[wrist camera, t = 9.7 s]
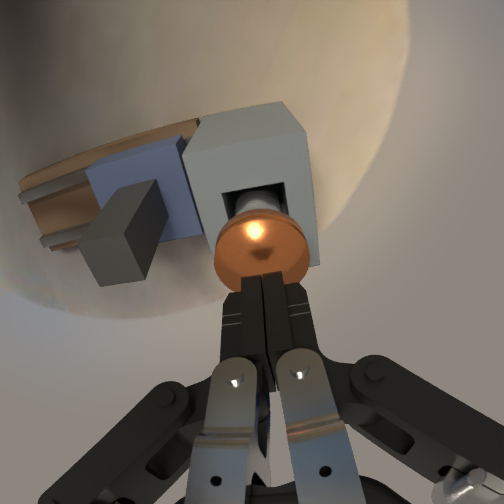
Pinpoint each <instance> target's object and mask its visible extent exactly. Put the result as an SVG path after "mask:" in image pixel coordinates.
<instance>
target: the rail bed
mask: <svg viewBox="0 0 504 504" xmlns="http://www.w3.org/2000/svg"><path fill="white" fill-rule="evenodd" d="M199 125H200V122H199V118H195V119H191V120H187V121H183V122H179V123H175V124H171V125H167V126H164V127H160V128H157V129H153V130H150V131H146V132H143V133H140V134H136V135H133V136H130V137H127V138H124V139H120V140H117V141H114V142H111V143H108V144H106V145H103V146H100V147H97V148H94V149H91V150H89V151H86V152H83V153H81V154H78V155H75V156H73V157H70V158H68V159H65V160H63V161H60V162H58V163H55V164H53V165H50V166H48V167H46V168H43V169H41V170H39V171H37V172H34V173H32V174H30V175H28V176H26V177H25V178H23V179H22V180H21V181H20V182H18V183H19V185H20V188H21V190H22V192H21V193H20V194H19V195H18V197H19V199H20V201H21V203H22V204H25V203H28V205H29V208H30V210H31V212H32V214H33V216H34V218H35V220H36V222H37V224H38V226H39V228H40V230H41V232H42V234H43V236H42V237H41V238H40V241H41V243H42V245H43V247H44V248H45V247H50V249H51V251H55V250H59V249H63V248H67V247H71V246H75V245H77V243H78V242H79V240H80V239H81V237H82V236H83V235H84V233H85V232H86V230H87V229H88V227H89V226H90V225H91V223H92V222H93V220H94V219H95V218H96V216H97V215H98V214H99V212H100V211H101V208H100V206H99V204H98V201H97V199H96V197H95V194H94V192H93V189H92V187H91V184H90V182H89V179H88V177H87V174H86V172H85V170H86V169H88V168H89V167H90V166H91V165H92V164H93V163H94V162H95V161H97V160H98V159H100V158H103V157H106V156H109V155H112V154H115V153H118V152H122V151H125V150H128V149H131V148H135V147H138V146H141V145H145V144H148V143H152V142H155V141H159V140H163V139H166V138H170V137H174V136H178V135H182V136H183V140H184V143H185V147H187V145H188V144H189V142H190V140H191V138H192V137H193V135H194V133H195V131H196V130H197V128H198V126H199Z"/></svg>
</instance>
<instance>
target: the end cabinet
mask: <svg viewBox="0 0 504 504" xmlns="http://www.w3.org/2000/svg"><path fill="white" fill-rule="evenodd" d="M182 158H183V161H184V165H185V168H186V171H187V175H188V178H189V182H190V185H191V188H192V192H193V195H194V198H195V202H196V205H197V208H198V212H199V215H200V218H201V221H202V225H203V228H204V231H205V234H206V237H207V241H208V244H209V247H210V250H211V253H212V256H213V260H214V255H215V246H216V240H217V236H218V234H219V232H220V230H221V229H222V227H223V226H224V225H225V224H226V223H227V222H228V221H229V220H230V219H231V218H233V217H234V216H235V204H236V194H237V191H238V190H241V189H246V188H251V187H257V186H263V185H268V184H271V185H272V186H273V187H274V188H275V190H276V192H277V196H278V200H279V205H280V209H281V212H283V213H285V214H287V215H288V216H290V217H291V218H293V219H294V220H295V221H296V222H297V223H298V224H299V225H300V227H301V228H302V230H303V232H304V235H305V238H306V241H307V245H308V248H309V252H310V263H309V267H311V266H317V265H320V260H319V248H318V235H317V224H316V213H315V203H314V194H313V184H312V176H311V167H310V159H309V151H308V143H307V136H306V131H305V130H304V129H303V127H302V126H301V125H300V123H299V122H298V121H297V120H296V118H295V117H294V116H293V115H292V113H291V112H290V111H289V110H288V108H287V107H286V106H285V105H284V103H283V102H275V103H269V104H263V105H257V106H251V107H246V108H241V109H236V110H231V111H226V112H221V113H216V114H212V115H207V116H204V118H203V120H202V121H201V123H200V125H199V126H198V128H197V130H196V131H195V133H194V135H193V137H192V138H191V140H190V142H189V144H188V145H187V147H186V149H185V151H184V152H183V154H182ZM220 281H221V280H220Z"/></svg>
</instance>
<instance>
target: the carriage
mask: <svg viewBox="0 0 504 504" xmlns="http://www.w3.org/2000/svg"><path fill="white" fill-rule="evenodd" d="M185 149H186V147H185V143H184V140H183V136H182V135H178V136H174V137H170V138H166V139H163V140H159V141H155V142H152V143H148V144H145V145H141V146H138V147H135V148H131V149H128V150H125V151H122V152H118V153H115V154H112V155H109V156H106V157H103V158H100V159H98V160H97V161H95V162H94V163H93V164H92V165H91V166H90V167H89V168H88V169H86V170H85V172H86V174H87V177H88V179H89V182H90V184H91V187H92V189H93V192H94V194H95V197H96V199H97V201H98V204H99V206H100V208H101V211H100V212H99V214H98V215H97V216H96V218H95V219H94V220H93V222H92V223H91V225H90V226H89V227H88V229H87V230H86V232H85V233H84V235H83V236H82V237H81V239H80V240H79V242H78V243H77V246H78V247H79V249H80V251H81V253H82V255H83V257H84V259H85V261H86V263H87V264H88V266H89V268H90V270H91V272H92V274H93V275H94V277H95V279H96V281H97V282H98V284H99V286H100V287H103V286H109V285H116V284H122V283H129V282H135V281H142V280H145V279H146V276H147V273H148V271H149V268H150V265H151V262H152V259H153V257H154V254H155V251H156V248H157V246H158V243H160V242H165V241H170V240H176V239H181V238H186V237H191V236H197V235H202V234H203V232H204V228H203V225H202V221H201V218H200V215H199V212H198V208H197V205H196V202H195V198H194V195H193V192H192V188H191V185H190V182H189V178H188V175H187V171H186V168H185V165H184V161H183V158H182V154H183V152H184V151H185Z"/></svg>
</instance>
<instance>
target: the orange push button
mask: <svg viewBox="0 0 504 504" xmlns="http://www.w3.org/2000/svg"><path fill="white" fill-rule="evenodd" d="M309 263H310V252H309V248H308V245H307V241H306V238H305V235H304V232H303V230H302V228H301V227H300V225H299V224H298V223H297V222H296V221H295V220H294V219H293V218H291V217H290V216H288V215H287V214H285V213H283V212H281V209H280V205H279V200H278V196H277V192H276V190H275V188H274V187H273V186H272V185H271V184H268V185H263V186H257V187H251V188H246V189H241V190H238V191H237V194H236V204H235V216H234V217H233V218H231V219H230V220H229V221H228V222H227V223H226V224H225V225H224V226H223V227H222V229H221V230H220V232H219V234H218V236H217V240H216V246H215V255H214V266H215V270H216V273H217V275H218V277H219V278H220V280H221V281H222V282H223V283H224V284H225V285H226V286H227V287H228V288H229V289H231V290H232V291H234V292H240V291H241V277H246V276H252V275H258V274H261V276H262V274H264V273H270V272H276V271H282V275H283V281H284V284H290V283H296V282H300V281H301V280H302V279H303V277H304V276H305V274H306V272H307V270H308V267H309ZM262 280H263V278H262Z"/></svg>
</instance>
